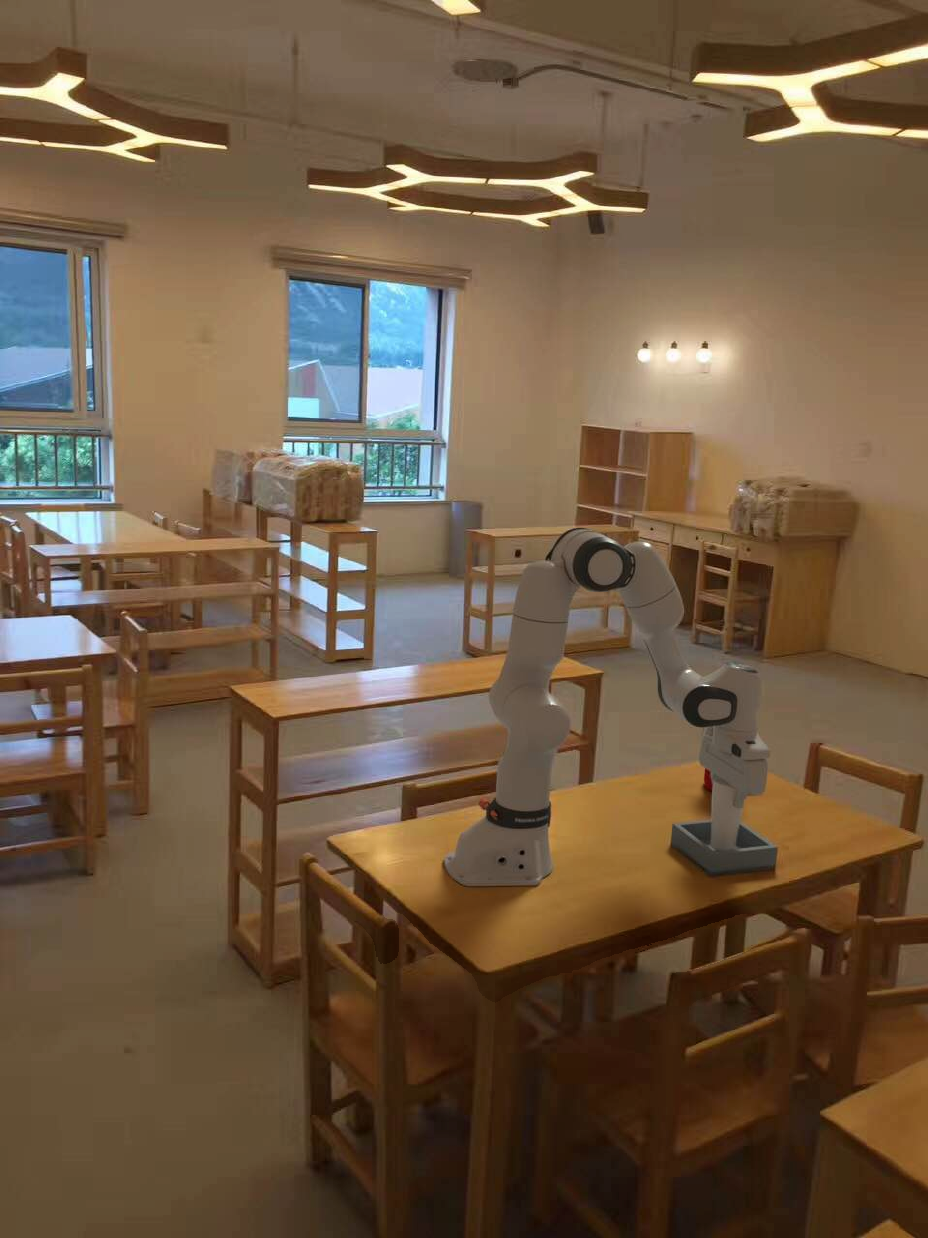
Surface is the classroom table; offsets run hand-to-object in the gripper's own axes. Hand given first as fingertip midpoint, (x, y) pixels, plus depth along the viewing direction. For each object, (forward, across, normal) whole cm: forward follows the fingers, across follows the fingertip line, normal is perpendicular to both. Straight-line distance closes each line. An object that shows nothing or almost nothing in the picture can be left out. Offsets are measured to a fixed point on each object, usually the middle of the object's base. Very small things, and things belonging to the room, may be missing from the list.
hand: (727, 800), depth 215 cm
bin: (+13, 0, 0) cm, 13 cm away
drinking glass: (+11, 0, 0) cm, 11 cm away
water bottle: (+13, -36, +22) cm, 44 cm away
